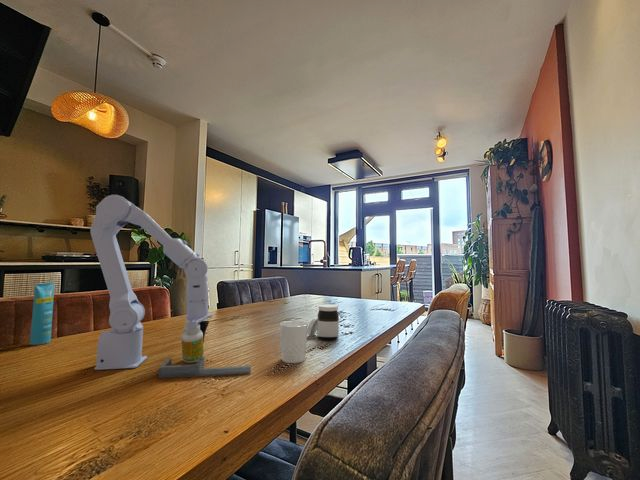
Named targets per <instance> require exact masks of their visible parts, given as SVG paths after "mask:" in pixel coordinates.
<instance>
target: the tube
mask: <svg viewBox="0 0 640 480" xmlns="http://www.w3.org/2000/svg"><path fill="white" fill-rule="evenodd" d="M33 295H34V296H33V303H32V315H31V316H32V317H31V326H30V336H29V337H30V339H29V345H32V346H37V345H38V346H39V345H44V344H45V343H46V344H49V343H51V340H52V329H53V328H52V327H53V326H52V325H53V313H54V312H53V310H54V301H55V300H54V298H55V297H54V296H55V281H51V282H45V283H36V284H35V286H34V294H33Z"/></svg>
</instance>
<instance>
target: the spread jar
mask: <svg viewBox="0 0 640 480" xmlns="http://www.w3.org/2000/svg"><path fill="white" fill-rule="evenodd" d="M338 307H339V306H338V305H337V304H331V303H330V304H329V303H328V304H327V303H326V304H319V305H318V312H317V316H314V317H313V318H312V319H311V321H310V322H309V324H308V328H307V335H310V336H311V337H312V336H314V335H315V334H316V336H317V340H319V341H322V342H335V341H337V340H338V339H339V335H340V333H339V330H340V329H339V327H340V326H339V324H340V319H339V311H338Z"/></svg>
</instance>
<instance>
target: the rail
mask: <svg viewBox="0 0 640 480" xmlns="http://www.w3.org/2000/svg"><path fill="white" fill-rule="evenodd" d="M251 372H252V365H241V366H240V365H236V366H216V367H205V356H203V357H200V358H199V360H198V361H197V362H196V364H194V363H192V364H178V365H177V364H176V365H175V364H174V365H172V358H171V357H167V358H166V359H165V361H163V362H162V364H160V365H159V367H158V374H157V376H158V378H157V379H175V378H178V379H179V378H191V377H208V376H209V377H211V376H226V375H228V376H229V375H244V374H251Z"/></svg>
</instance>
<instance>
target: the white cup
mask: <svg viewBox="0 0 640 480" xmlns="http://www.w3.org/2000/svg"><path fill="white" fill-rule="evenodd" d="M308 326H309V324H308V322H306V321H302V320H285V321H282V322H280V323H279V332H280V333H279V334H280V335H279V336H280V337H279V339H280V340H279V341H280V342H279V343H280V360H281V361H282V362H284V363H287V364H298V363H302V362H304V361H306V351H307V340H308V333H307V330H308Z"/></svg>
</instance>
